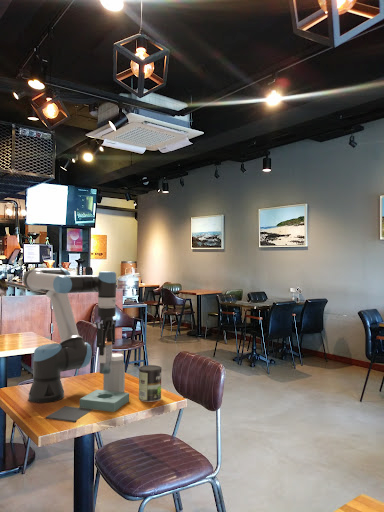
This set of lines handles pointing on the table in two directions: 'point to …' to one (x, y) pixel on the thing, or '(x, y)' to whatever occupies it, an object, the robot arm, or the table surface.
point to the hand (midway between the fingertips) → (105, 361)
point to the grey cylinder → (107, 359)
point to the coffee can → (150, 383)
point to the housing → (104, 400)
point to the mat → (68, 414)
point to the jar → (115, 375)
